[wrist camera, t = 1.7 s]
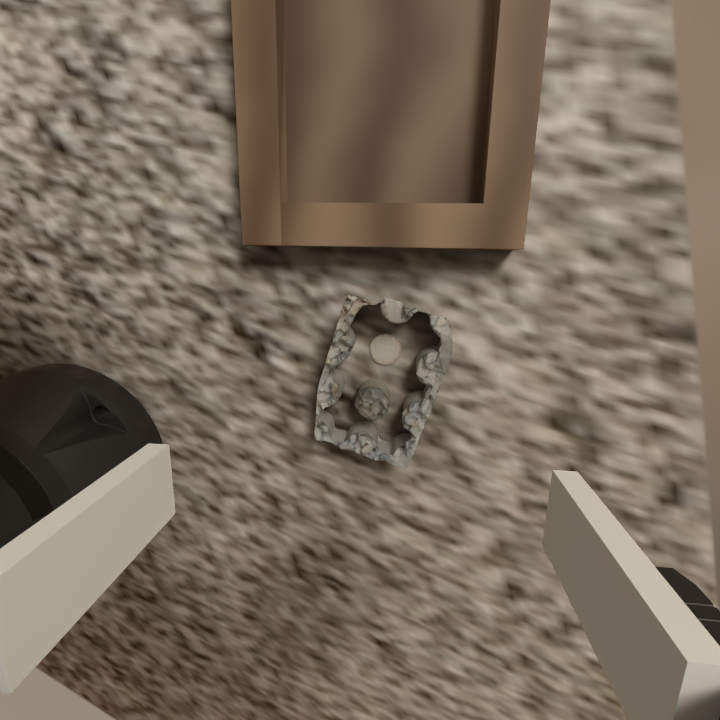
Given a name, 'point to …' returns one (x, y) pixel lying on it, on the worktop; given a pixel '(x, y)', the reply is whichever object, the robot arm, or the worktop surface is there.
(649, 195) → the worktop surface
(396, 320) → the egg carton
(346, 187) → the pocket board
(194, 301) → the worktop surface
